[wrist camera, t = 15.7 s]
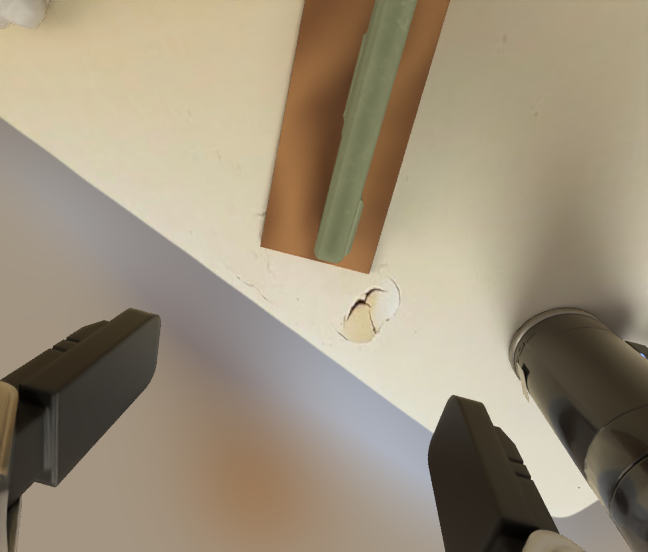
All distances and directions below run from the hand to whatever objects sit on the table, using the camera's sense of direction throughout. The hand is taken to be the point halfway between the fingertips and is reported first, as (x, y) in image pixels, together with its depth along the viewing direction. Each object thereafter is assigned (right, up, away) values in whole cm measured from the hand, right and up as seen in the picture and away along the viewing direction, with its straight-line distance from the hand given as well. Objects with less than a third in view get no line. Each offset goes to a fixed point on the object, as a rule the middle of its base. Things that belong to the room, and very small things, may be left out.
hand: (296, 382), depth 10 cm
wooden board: (+3, +18, +23) cm, 29 cm away
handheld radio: (+5, +18, +22) cm, 29 cm away
